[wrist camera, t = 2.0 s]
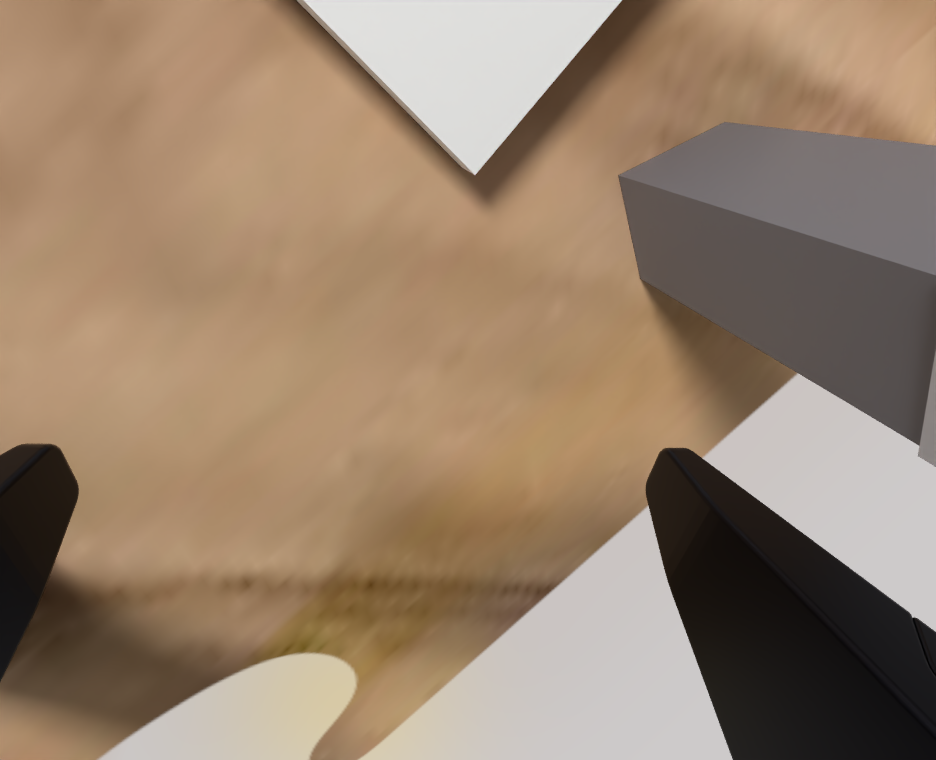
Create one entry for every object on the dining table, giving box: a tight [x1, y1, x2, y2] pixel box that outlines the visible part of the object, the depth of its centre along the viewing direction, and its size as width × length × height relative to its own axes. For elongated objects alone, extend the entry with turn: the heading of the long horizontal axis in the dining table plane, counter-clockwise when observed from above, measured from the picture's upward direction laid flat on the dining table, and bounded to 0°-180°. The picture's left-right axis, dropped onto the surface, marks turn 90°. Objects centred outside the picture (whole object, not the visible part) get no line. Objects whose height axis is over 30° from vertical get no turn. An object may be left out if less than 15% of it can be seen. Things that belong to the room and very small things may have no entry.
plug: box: [618, 122, 936, 467], centre depth 15 cm, size 5×5×13 cm
